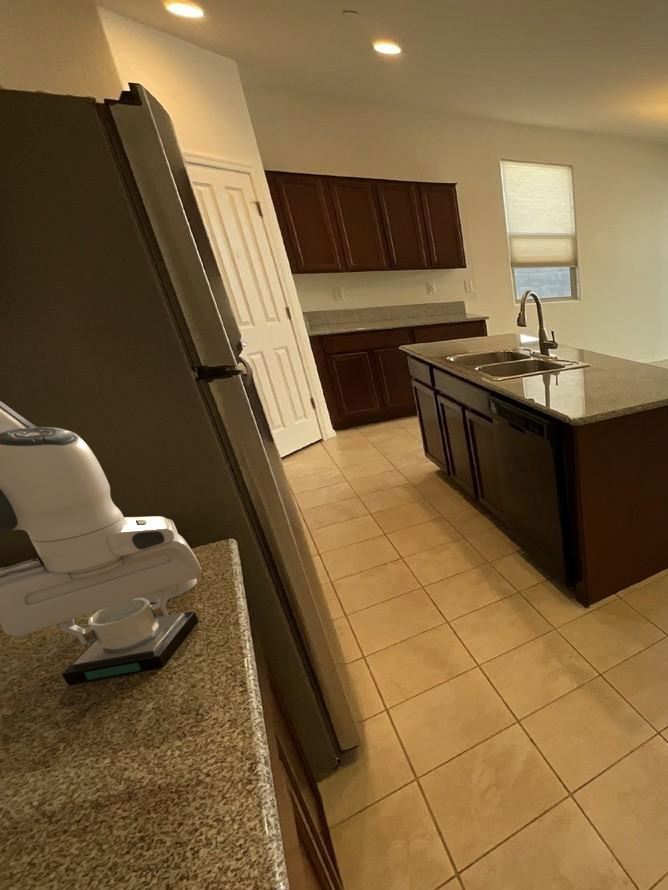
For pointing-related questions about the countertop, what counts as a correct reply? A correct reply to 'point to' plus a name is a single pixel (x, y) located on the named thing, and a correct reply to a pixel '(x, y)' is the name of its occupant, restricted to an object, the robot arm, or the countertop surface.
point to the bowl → (123, 624)
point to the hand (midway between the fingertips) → (127, 627)
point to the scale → (133, 652)
